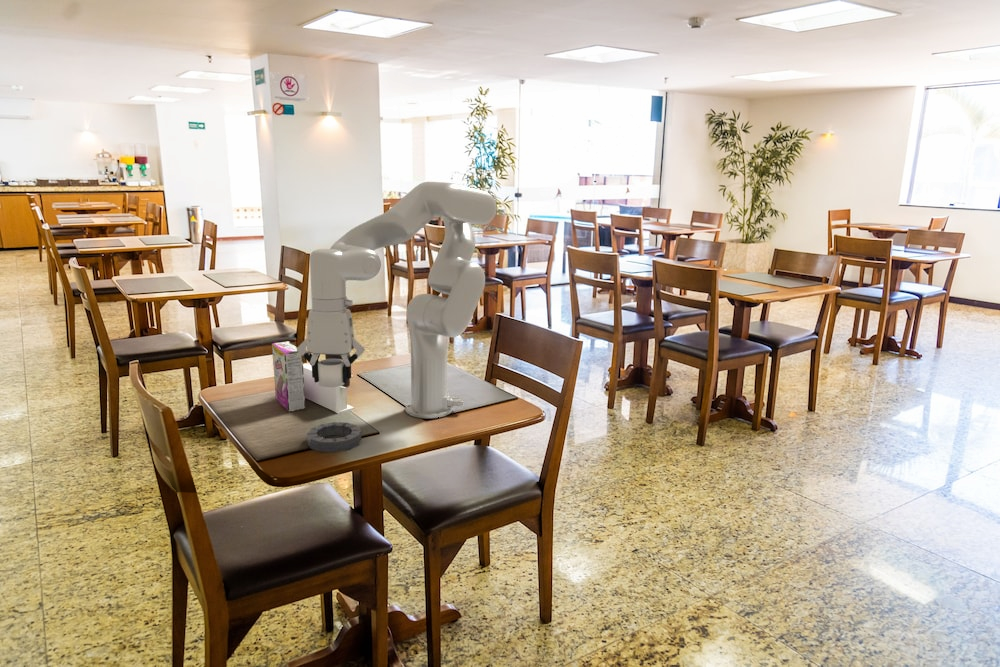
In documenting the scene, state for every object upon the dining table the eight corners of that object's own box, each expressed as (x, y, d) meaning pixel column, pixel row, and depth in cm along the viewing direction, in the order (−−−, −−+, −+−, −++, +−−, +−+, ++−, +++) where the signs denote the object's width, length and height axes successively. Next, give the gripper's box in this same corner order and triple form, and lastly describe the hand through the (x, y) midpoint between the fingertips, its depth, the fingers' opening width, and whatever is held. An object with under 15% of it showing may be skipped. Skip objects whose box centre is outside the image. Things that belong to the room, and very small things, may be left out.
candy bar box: (274, 400, 184) (270, 343, 180) (292, 397, 187) (289, 340, 183) (287, 412, 175) (284, 352, 171) (306, 409, 178) (303, 350, 174)
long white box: (354, 409, 179) (353, 375, 177) (336, 414, 175) (335, 380, 173) (314, 391, 193) (312, 359, 190) (296, 395, 189) (295, 363, 186)
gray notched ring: (365, 432, 164) (365, 422, 163) (354, 453, 152) (354, 442, 152) (316, 431, 164) (315, 421, 163) (301, 451, 152) (301, 441, 151)
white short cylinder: (348, 379, 157) (347, 358, 156) (341, 387, 151) (341, 365, 150) (322, 378, 157) (321, 357, 156) (315, 386, 151) (314, 365, 150)
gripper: (370, 302, 153) (372, 377, 158) (295, 300, 153) (299, 375, 158) (364, 309, 146) (366, 387, 151) (285, 307, 146) (289, 385, 151)
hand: (332, 380), depth 154 cm, fingers closed on white short cylinder, 5 cm apart
